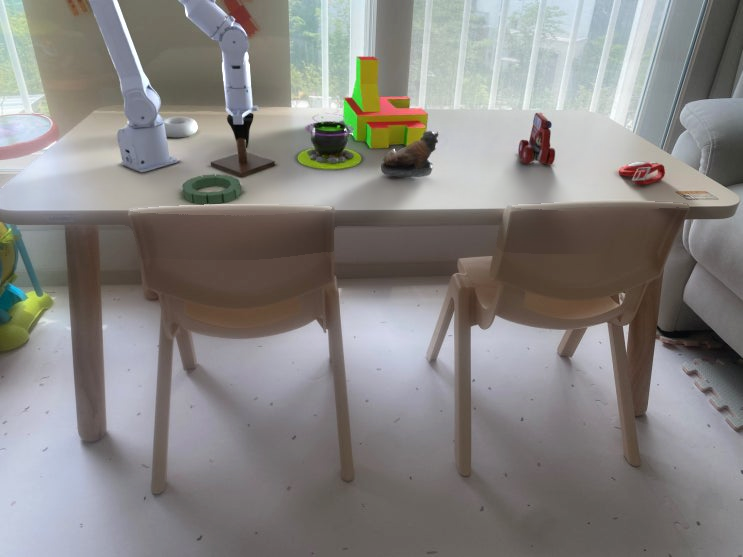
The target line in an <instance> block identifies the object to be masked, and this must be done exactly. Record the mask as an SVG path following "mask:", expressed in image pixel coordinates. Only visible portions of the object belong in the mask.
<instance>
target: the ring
mask: <svg viewBox="0 0 743 557" xmlns="http://www.w3.org/2000/svg"><path fill="white" fill-rule="evenodd" d="M215 186H217V187H224V189H221V190H216V191H200V190H199V189H202V188H205V187H215ZM181 188H182V194H183V198H184V200H187V201H188V202H190V203H191V204H192V203H194V204H199V205H217V204H223V203H227V202H230V201H233V200H235V199H237V198H238V197H239V196H240V195H241V194H242V185H241V182H240V180H239V179H238V178H237V177H234V176H232V175H228V174H218V173H217V174H215V173H213V174H203V175H197V176H195V177H192V178H189V179H187V180H186V181H184V182H183V183H182V184H181Z"/></svg>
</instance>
